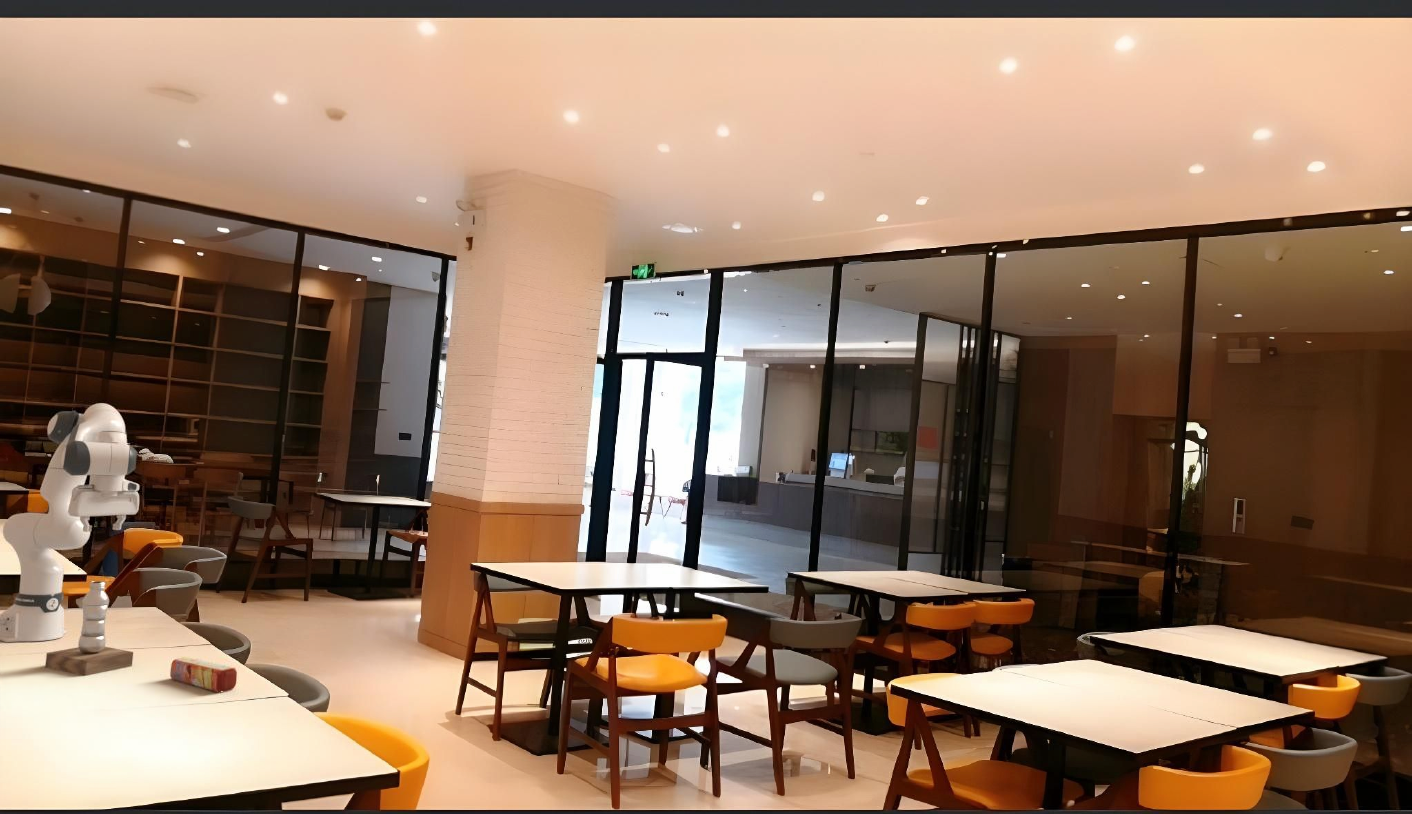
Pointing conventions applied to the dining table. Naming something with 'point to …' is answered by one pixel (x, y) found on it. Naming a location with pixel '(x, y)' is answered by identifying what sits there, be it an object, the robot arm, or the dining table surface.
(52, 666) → the walnut stand
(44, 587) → the robot arm
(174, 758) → the dining table surface
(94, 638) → the plastic bottle
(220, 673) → the snack package
